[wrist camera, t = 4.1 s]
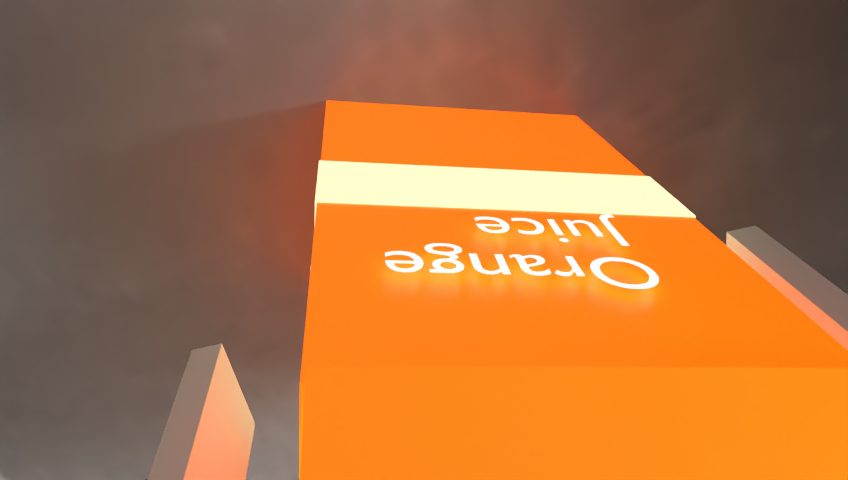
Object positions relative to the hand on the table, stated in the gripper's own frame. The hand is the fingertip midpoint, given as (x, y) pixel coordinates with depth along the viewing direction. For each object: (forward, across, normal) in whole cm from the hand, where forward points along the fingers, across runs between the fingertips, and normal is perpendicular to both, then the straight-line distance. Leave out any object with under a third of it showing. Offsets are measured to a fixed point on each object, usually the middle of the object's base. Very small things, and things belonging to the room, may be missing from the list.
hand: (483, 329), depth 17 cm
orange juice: (+8, 0, 0) cm, 8 cm away
